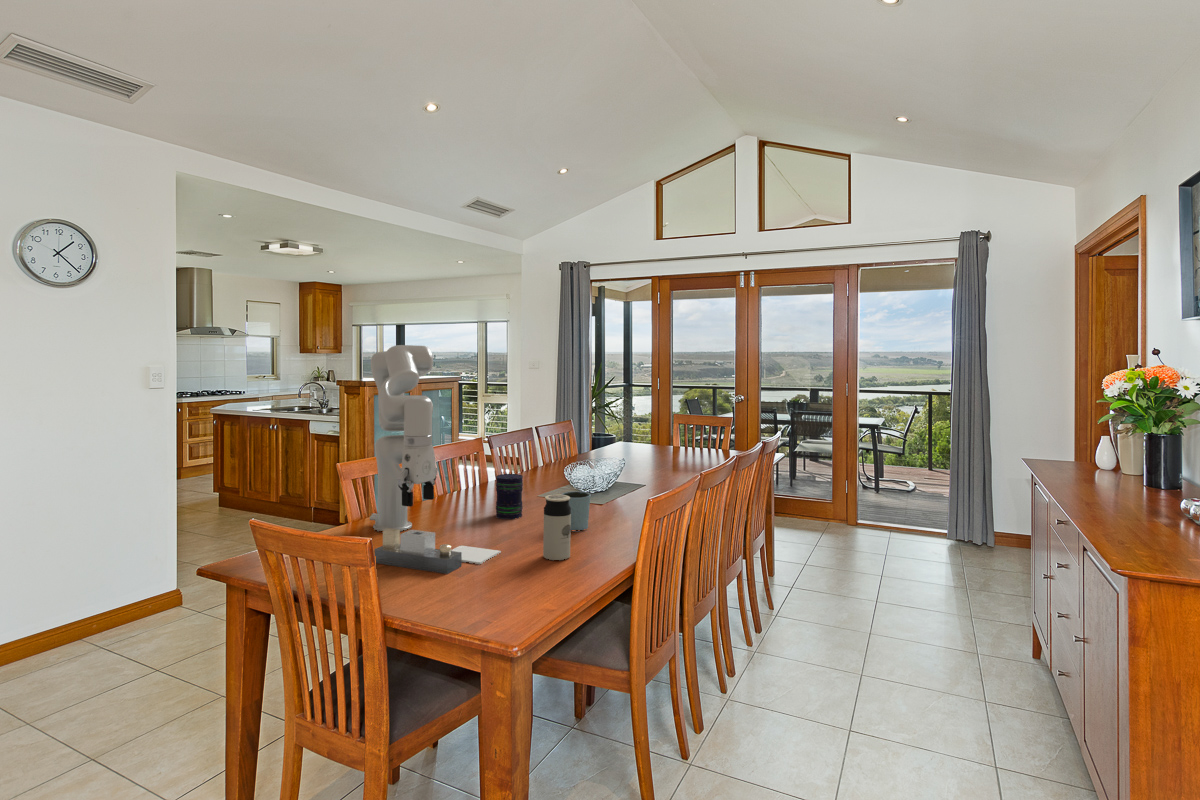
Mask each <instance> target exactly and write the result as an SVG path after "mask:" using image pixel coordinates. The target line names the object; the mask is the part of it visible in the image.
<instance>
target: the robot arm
mask: <svg viewBox="0 0 1200 800" xmlns="http://www.w3.org/2000/svg"><path fill="white" fill-rule="evenodd" d="M433 366H434V355H433V353H432V351H431V349H430V348H429V347H428V346H425V345H416V344H415V345H412V344H411V345H410V344H409V345H408V344H407V345H406V344H399V345H398V344H396V345H393V346H391V347H389V348H388V349H387V350H385V351H377V352H375V353H373V355H372V356H371V358H370V370H371V374H372V377H373V380H374V383H375V386H376V387H377V389H376V390H377V395H378V396H377V397H378V423H379V427H380V429H381V430H383V431H385V432H403V434H397V435H396V434H395V435H393V434H392V435H390V434H389V435H385V436H382V437H381V436H380V437H379V438H378V439H377V440H376V441H375V443H374V453H375V458H376V459H375V460H376V466H377V467H376V468H377V513H375V512H373V513H371V515H370V516H369V520H370V521H375V522H374V524H373V527H372V528H374V529H375V530H377V531H376V532H379V531H383V530H384V529H387V528H392V529H400V532H403V530H404V531H408V530H411V528H412V527H413V523H412V522H411V521H409V520H408V508H409V507H410V508H411V507H413V506H414V491H412V490H413V488H414V485H421V484H424V485H423V486H422V488H423V489H422V492H423V493H422V495H423V497H422V498H423V500H429V501H430V500H431V501H433V500H434V499H435V496H434V495H435V486H436V485H435V484H436V479H437V475H438V471H439V469H438V468H437V466H436V454H435V449H434V446H433V412H434V405H433V402H432V399H430V398H429V397H428V396H427V395H421V394H420V395H416V394H415V395H411V394H410V395H405V394H406V393H407V392H409V391H412V390H413V389H414V388H416V387H417V386H418V384H419V381H420V377H424V376H425V375H427V374H428V373H429V372H430V371H432V368H433ZM400 464H401V466H400ZM374 529H373V530H374ZM407 529H408V530H407ZM375 530H374V531H375Z"/></svg>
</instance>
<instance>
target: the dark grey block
mask: <svg viewBox="0 0 1200 800" xmlns="http://www.w3.org/2000/svg"><path fill="white" fill-rule="evenodd" d="M400 534H401V531H400V529H392V528H387V529H384V530H383V532H382V545H381V546H379V547H376V548H374V557H375V556H376V563H375V564H380V565H386V566H391V567H399V568H406V569H411V570H412V569H413V570H418V571H424V572H432V573H437V574H438V573H439V574H443V575H444V574H445V575H448V574H451V573H452V572H454V571H456V570H458V569H459V567H460V568H461V567H462V565H463V564H462V563H463V562H462V552H455V551H451V550H452V544H448V543H447V544H446V543H445V544H444V543H443V544H440V545H439V549H438V548H435V550H434V551H432V552H430V553H428V554H426V555H421V554H414V553H407V552H401V551H400Z"/></svg>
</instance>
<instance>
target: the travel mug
mask: <svg viewBox="0 0 1200 800" xmlns="http://www.w3.org/2000/svg"><path fill="white" fill-rule="evenodd" d="M544 499H545V506H544V507H543V540H542V541H543V542H542V545H543V547H542V549H543V553H542V557H543V558H545V559H546V560H548V559H549V561H554V560H559V561H564V559H565V560H567V559H569V558H570V557H571V532H572V531H571V507H570V505H569V500H570V497H569V496H567V495H561V494H549V495H545V496H544Z"/></svg>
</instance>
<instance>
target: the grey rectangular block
mask: <svg viewBox="0 0 1200 800" xmlns="http://www.w3.org/2000/svg"><path fill="white" fill-rule="evenodd" d="M435 549H436V532H433V531H425V530H417V529H408V530H406V531H404V532H402V533H401V532H400V551H401V552H407V553H414V554H421V555H426V554H428V553H430V552H432V551H434V550H435Z"/></svg>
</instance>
